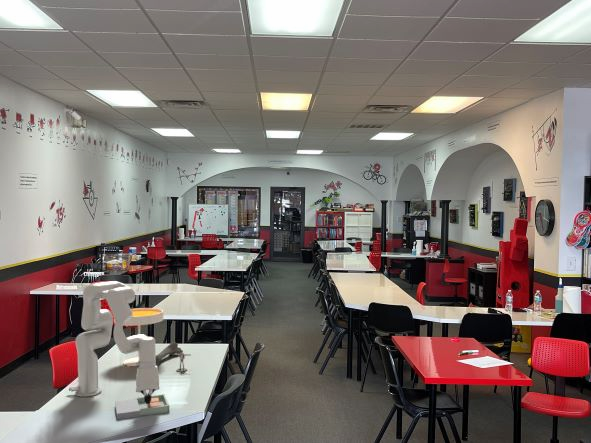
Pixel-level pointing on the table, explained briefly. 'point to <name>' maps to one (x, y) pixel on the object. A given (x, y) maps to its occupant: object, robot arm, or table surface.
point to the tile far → (153, 401)
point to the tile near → (155, 404)
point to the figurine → (182, 361)
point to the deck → (127, 408)
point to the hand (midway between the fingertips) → (147, 403)
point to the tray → (153, 410)
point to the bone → (168, 352)
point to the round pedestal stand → (142, 318)
